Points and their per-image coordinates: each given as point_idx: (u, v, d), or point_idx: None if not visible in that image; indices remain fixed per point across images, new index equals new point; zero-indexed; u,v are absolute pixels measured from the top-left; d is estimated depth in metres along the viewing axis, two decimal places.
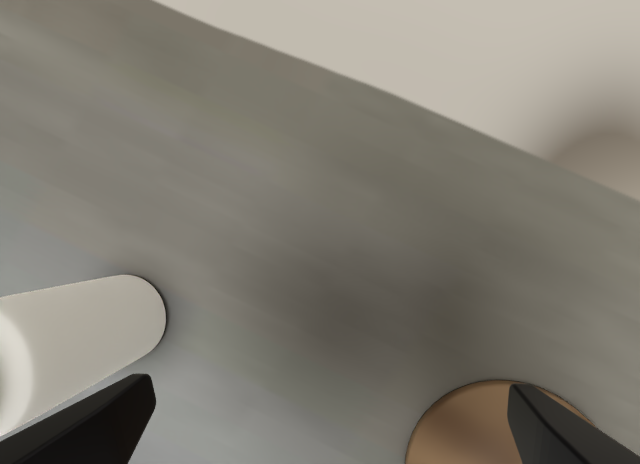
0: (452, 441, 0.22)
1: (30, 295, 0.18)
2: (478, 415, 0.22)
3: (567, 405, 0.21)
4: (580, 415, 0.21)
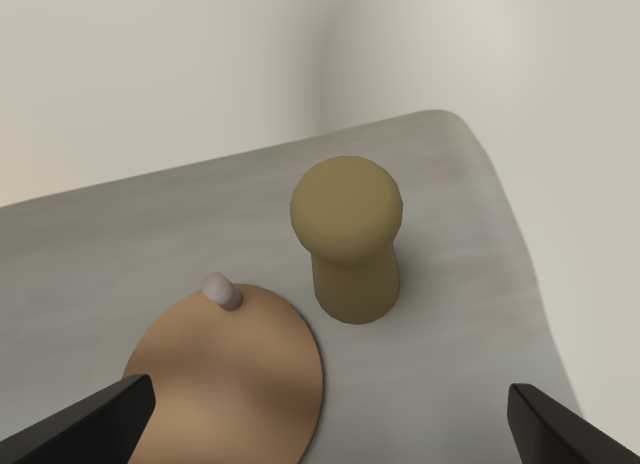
0: None
1: None
2: (161, 341, 0.23)
3: None
4: (235, 285, 0.24)
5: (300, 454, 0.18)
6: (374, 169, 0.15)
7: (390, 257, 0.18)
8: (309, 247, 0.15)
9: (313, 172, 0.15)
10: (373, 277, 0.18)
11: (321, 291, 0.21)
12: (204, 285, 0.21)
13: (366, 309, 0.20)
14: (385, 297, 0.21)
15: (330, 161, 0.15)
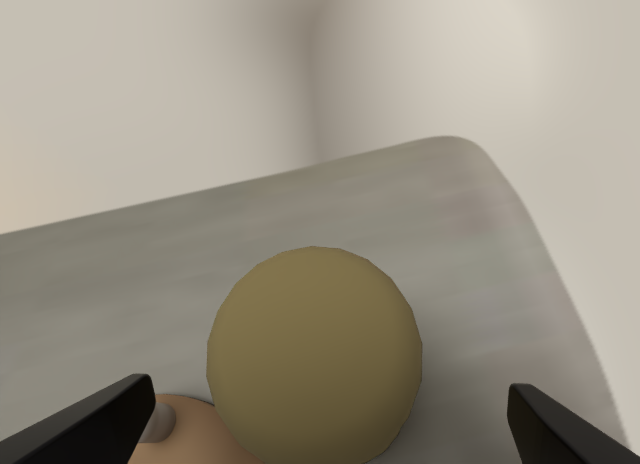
0: None
1: None
2: None
3: None
4: (166, 397, 0.16)
5: None
6: (366, 283, 0.08)
7: None
8: None
9: (250, 283, 0.08)
10: None
11: None
12: None
13: None
14: None
15: (283, 261, 0.08)
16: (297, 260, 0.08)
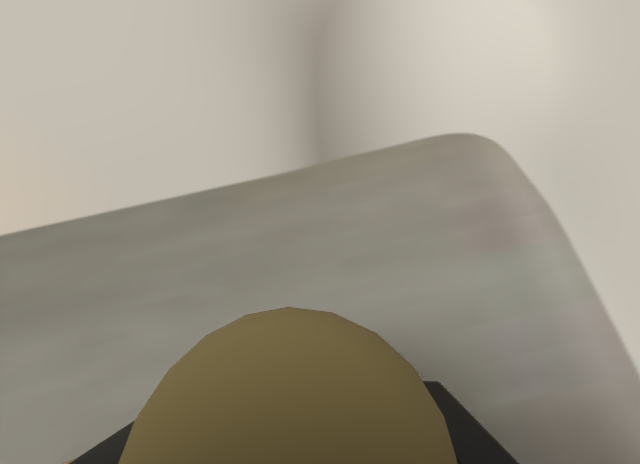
0: None
1: None
2: None
3: None
4: None
5: None
6: (373, 391, 0.04)
7: None
8: None
9: (182, 382, 0.05)
10: None
11: None
12: None
13: None
14: None
15: (239, 342, 0.05)
16: (260, 342, 0.05)
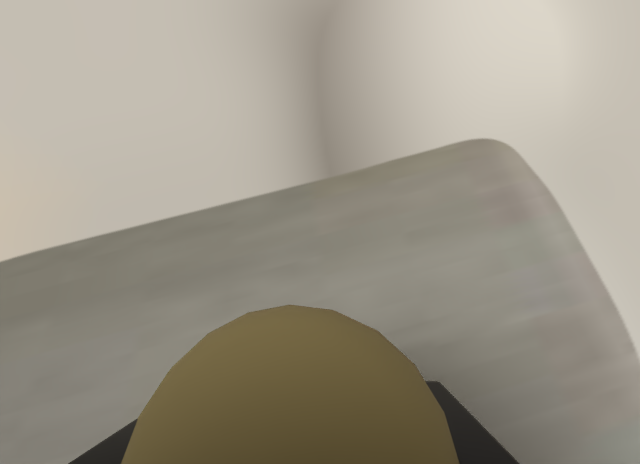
0: None
1: None
2: None
3: None
4: None
5: None
6: (373, 387, 0.05)
7: None
8: None
9: (185, 379, 0.05)
10: None
11: None
12: None
13: None
14: None
15: (240, 339, 0.05)
16: (261, 339, 0.05)
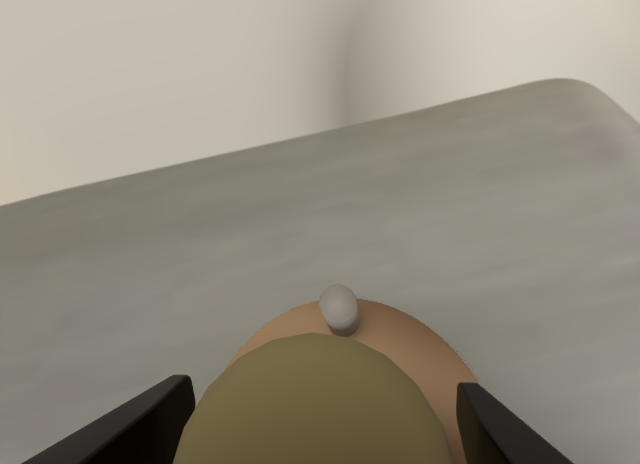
0: None
1: None
2: None
3: None
4: None
5: None
6: (385, 409, 0.05)
7: None
8: None
9: (224, 402, 0.06)
10: None
11: None
12: (323, 303, 0.15)
13: None
14: None
15: (270, 366, 0.06)
16: (289, 367, 0.06)
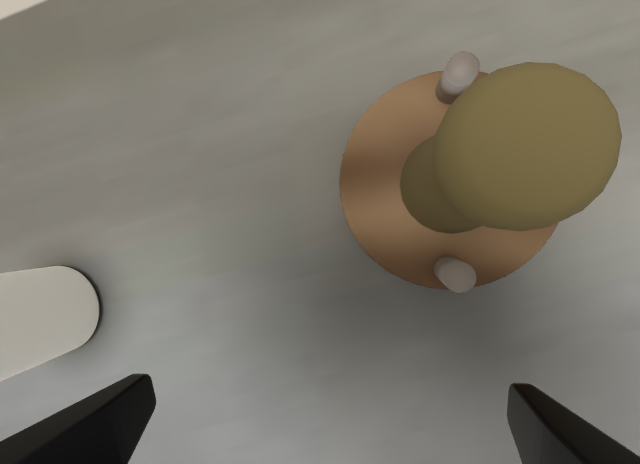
0: (371, 182, 0.21)
1: None
2: (373, 142, 0.21)
3: (434, 73, 0.20)
4: None
5: (548, 237, 0.19)
6: (595, 97, 0.09)
7: None
8: (468, 214, 0.11)
9: (488, 102, 0.10)
10: None
11: (424, 211, 0.18)
12: (450, 69, 0.17)
13: (475, 227, 0.18)
14: None
15: (516, 79, 0.09)
16: (530, 78, 0.09)
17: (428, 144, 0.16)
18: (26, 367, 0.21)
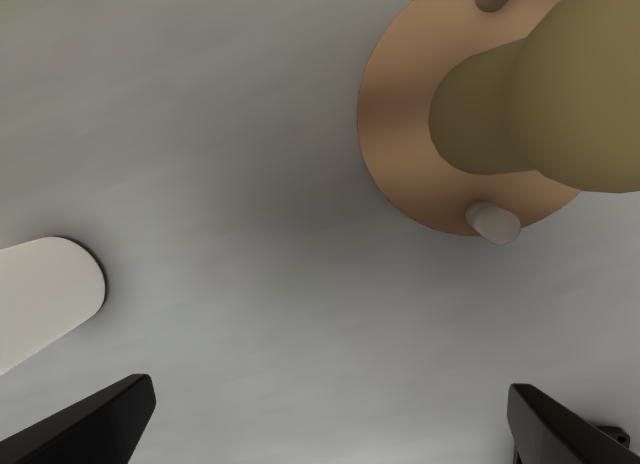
0: (394, 120, 0.18)
1: None
2: (396, 69, 0.17)
3: None
4: None
5: None
6: None
7: None
8: (554, 176, 0.09)
9: (613, 20, 0.07)
10: None
11: (463, 155, 0.15)
12: None
13: None
14: None
15: None
16: None
17: (476, 73, 0.13)
18: (41, 347, 0.20)
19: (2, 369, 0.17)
